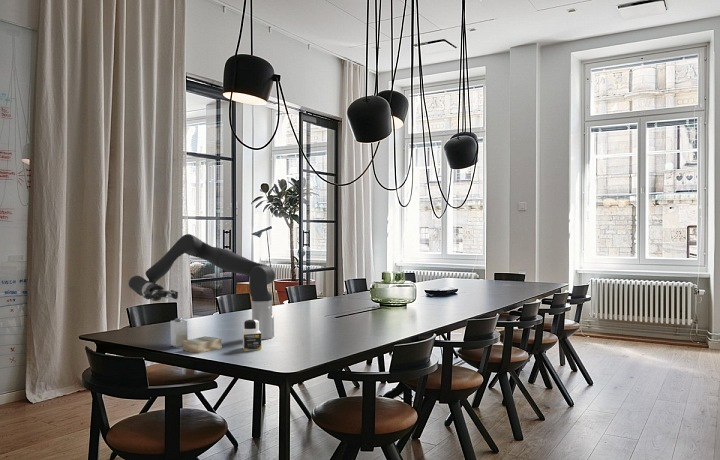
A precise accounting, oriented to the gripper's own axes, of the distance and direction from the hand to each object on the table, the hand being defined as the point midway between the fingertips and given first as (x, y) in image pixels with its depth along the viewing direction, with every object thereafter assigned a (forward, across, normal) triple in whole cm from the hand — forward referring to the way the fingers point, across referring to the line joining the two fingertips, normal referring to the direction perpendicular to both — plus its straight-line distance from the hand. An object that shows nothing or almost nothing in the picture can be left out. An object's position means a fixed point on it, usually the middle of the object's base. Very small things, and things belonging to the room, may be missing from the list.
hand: (167, 297), depth 257 cm
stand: (+25, +5, +18) cm, 31 cm away
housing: (+12, +1, +19) cm, 23 cm away
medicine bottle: (+39, +21, +16) cm, 47 cm away
